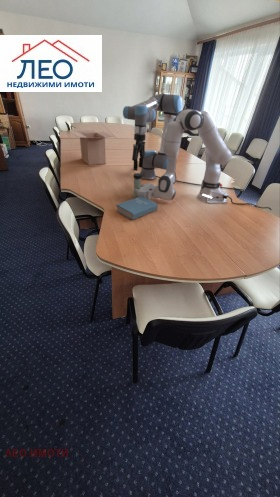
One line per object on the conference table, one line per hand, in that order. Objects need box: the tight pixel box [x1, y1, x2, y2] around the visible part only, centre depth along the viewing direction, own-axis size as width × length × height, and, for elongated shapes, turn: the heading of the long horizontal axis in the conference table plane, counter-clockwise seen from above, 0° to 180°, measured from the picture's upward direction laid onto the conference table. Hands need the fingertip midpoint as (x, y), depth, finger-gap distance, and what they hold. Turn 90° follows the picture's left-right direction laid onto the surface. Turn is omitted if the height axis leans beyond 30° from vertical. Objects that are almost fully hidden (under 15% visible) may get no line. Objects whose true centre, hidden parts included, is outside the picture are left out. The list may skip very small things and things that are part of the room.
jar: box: [132, 178, 142, 198], centre depth 165 cm, size 5×5×16 cm
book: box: [116, 196, 159, 221], centre depth 148 cm, size 23×16×5 cm
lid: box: [132, 172, 142, 180], centre depth 161 cm, size 6×6×2 cm
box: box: [70, 129, 114, 166], centre depth 229 cm, size 44×36×27 cm
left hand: (138, 168), depth 158 cm, fingers open, 8 cm apart
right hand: (136, 187), depth 166 cm, fingers open, 8 cm apart
